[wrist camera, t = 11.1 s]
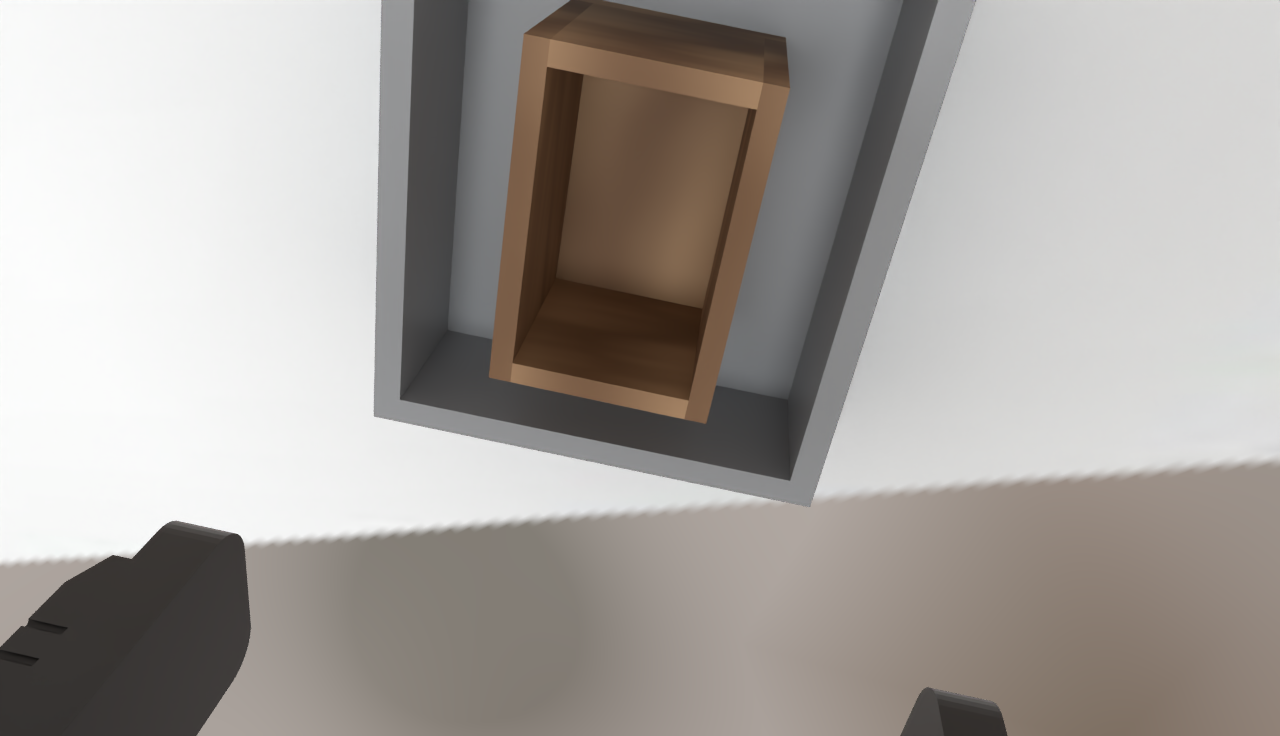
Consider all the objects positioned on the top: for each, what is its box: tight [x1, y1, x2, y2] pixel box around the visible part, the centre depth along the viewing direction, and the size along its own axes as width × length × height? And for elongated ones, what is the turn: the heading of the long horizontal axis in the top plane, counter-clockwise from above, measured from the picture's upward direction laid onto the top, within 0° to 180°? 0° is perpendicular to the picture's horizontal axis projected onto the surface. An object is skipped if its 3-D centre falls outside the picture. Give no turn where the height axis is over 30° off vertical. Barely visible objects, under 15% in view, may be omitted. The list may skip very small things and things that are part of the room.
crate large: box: [374, 0, 976, 507], centre depth 26 cm, size 14×16×6 cm
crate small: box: [489, 0, 790, 424], centre depth 25 cm, size 6×9×6 cm, turn 170°
